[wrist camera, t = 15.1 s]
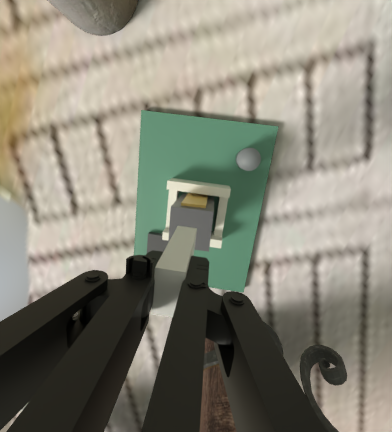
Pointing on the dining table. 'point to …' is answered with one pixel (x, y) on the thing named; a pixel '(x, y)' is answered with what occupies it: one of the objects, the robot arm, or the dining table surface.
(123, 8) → the pillar candle
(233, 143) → the board
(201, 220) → the plug
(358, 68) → the dining table surface
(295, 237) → the dining table surface
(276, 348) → the robot arm
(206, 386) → the tankard
